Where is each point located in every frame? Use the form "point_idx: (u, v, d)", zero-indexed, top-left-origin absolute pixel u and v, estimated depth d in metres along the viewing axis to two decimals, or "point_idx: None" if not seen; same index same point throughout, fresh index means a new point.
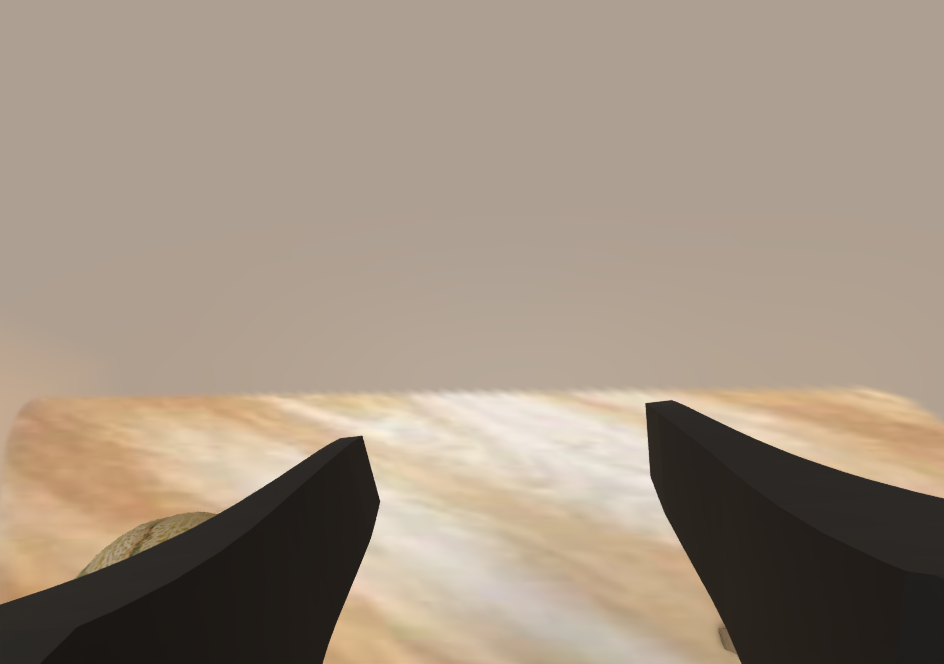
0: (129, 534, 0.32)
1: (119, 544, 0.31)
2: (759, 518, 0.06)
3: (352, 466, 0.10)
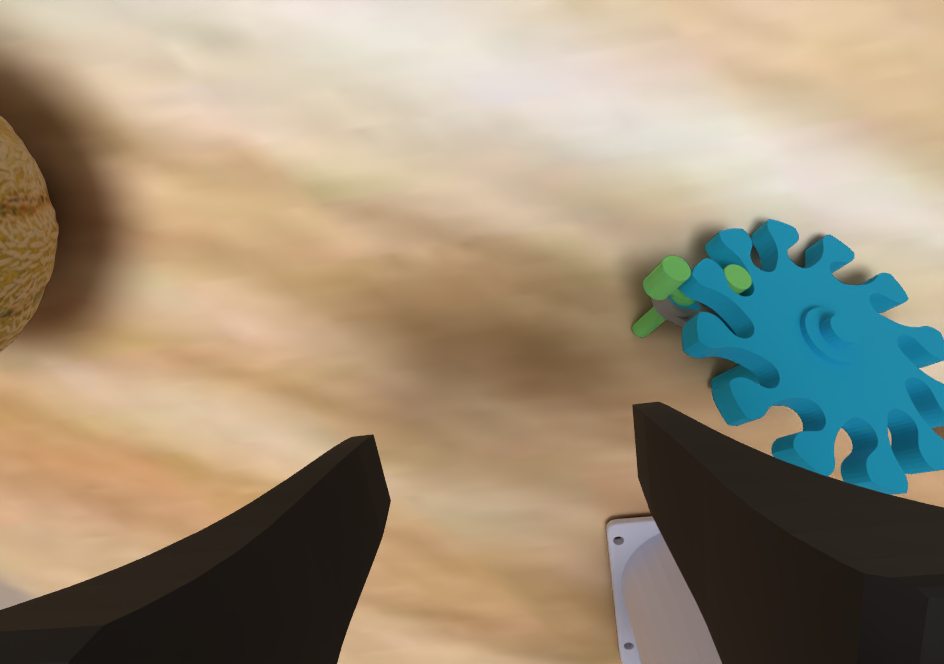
0: None
1: None
2: (735, 520, 0.06)
3: (364, 465, 0.10)
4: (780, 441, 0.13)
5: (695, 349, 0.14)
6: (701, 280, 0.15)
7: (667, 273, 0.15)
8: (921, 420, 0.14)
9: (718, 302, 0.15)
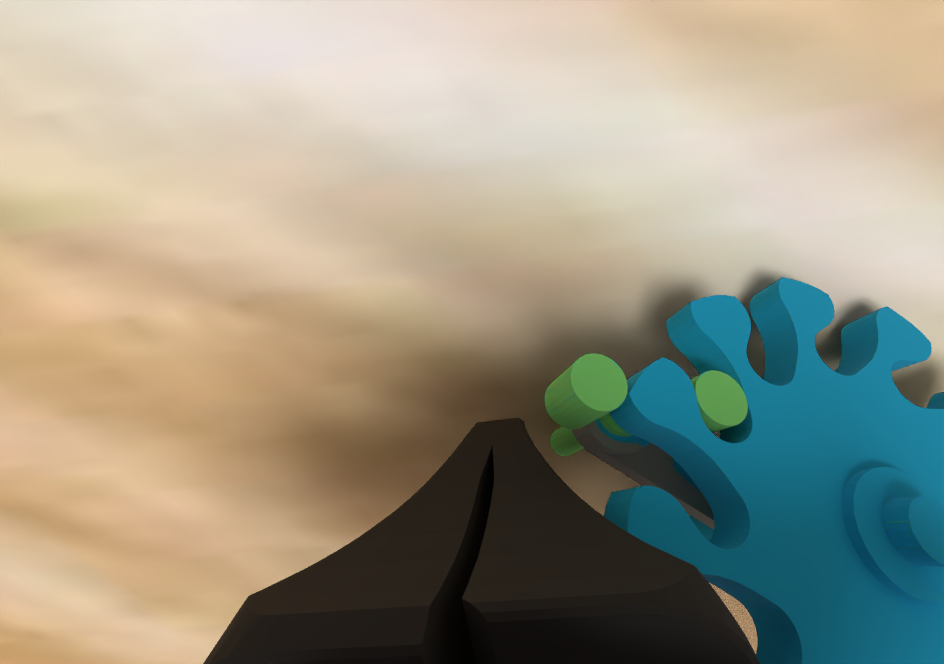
0: None
1: None
2: None
3: None
4: None
5: None
6: (648, 408, 0.07)
7: (577, 394, 0.07)
8: None
9: (681, 449, 0.08)
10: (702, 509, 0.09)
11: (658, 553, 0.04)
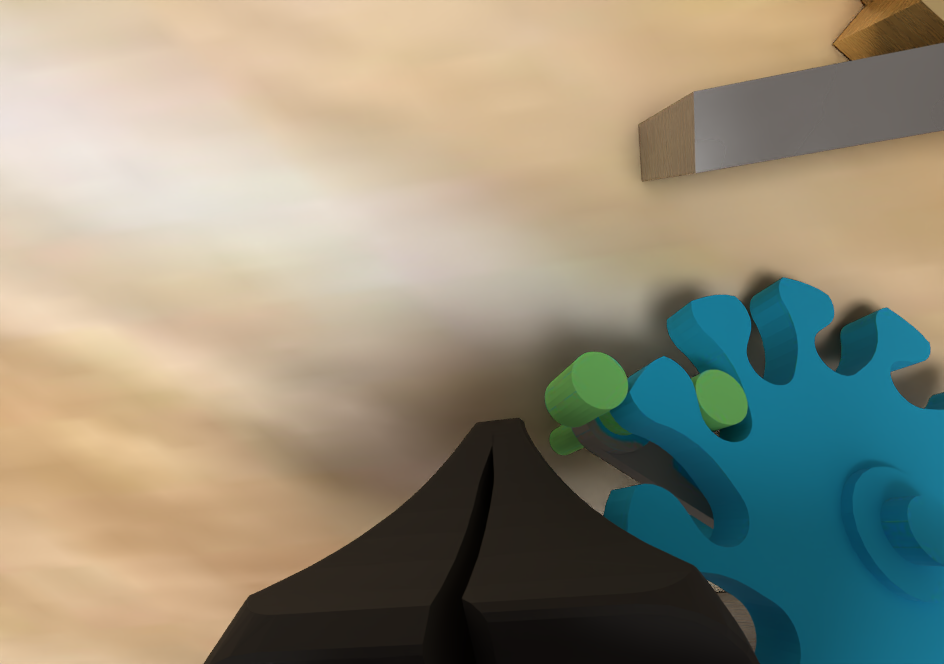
0: None
1: None
2: None
3: None
4: None
5: None
6: (648, 407, 0.07)
7: (577, 392, 0.07)
8: None
9: (681, 448, 0.08)
10: (702, 508, 0.09)
11: (657, 553, 0.04)
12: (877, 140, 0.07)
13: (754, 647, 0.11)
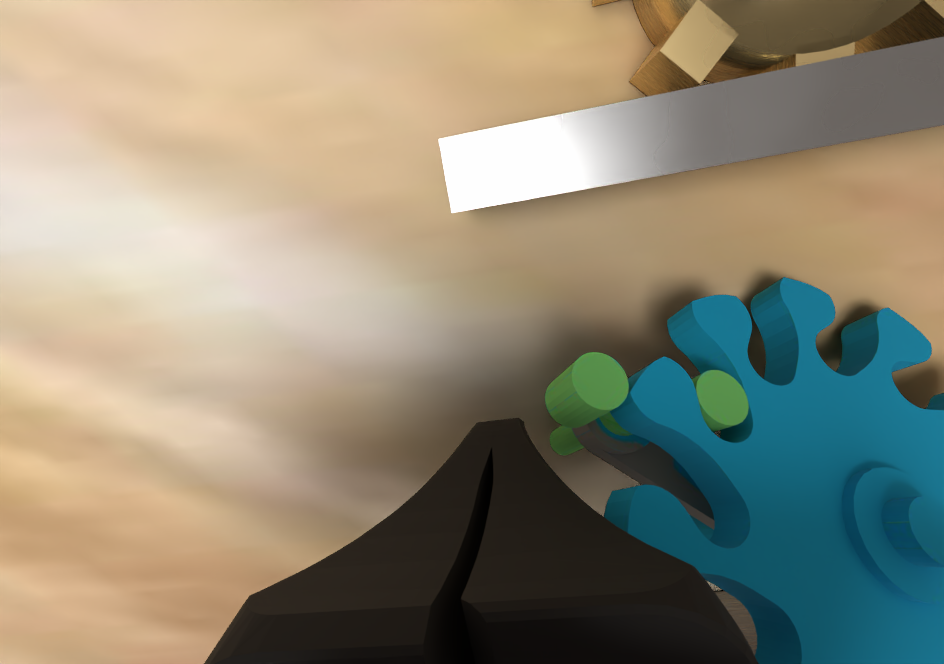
0: None
1: None
2: None
3: None
4: None
5: None
6: (649, 407, 0.07)
7: (577, 393, 0.07)
8: None
9: (681, 449, 0.08)
10: (702, 508, 0.09)
11: (656, 553, 0.04)
12: (609, 183, 0.07)
13: None
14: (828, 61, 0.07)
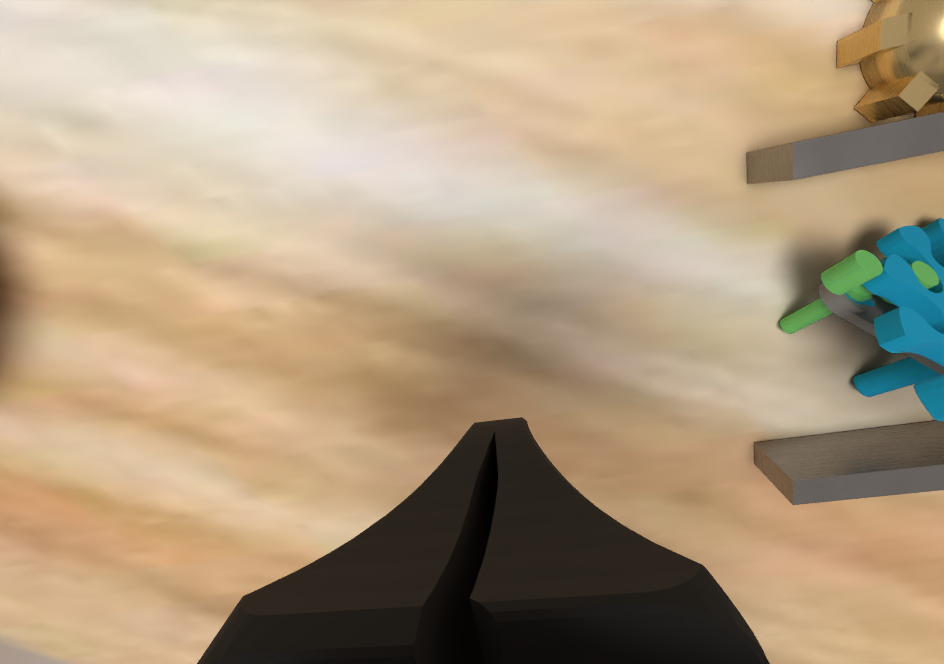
0: None
1: None
2: None
3: None
4: None
5: (897, 344, 0.14)
6: (894, 275, 0.15)
7: (861, 267, 0.15)
8: None
9: (906, 298, 0.15)
10: None
11: (665, 552, 0.04)
12: (879, 162, 0.14)
13: (815, 457, 0.19)
14: None
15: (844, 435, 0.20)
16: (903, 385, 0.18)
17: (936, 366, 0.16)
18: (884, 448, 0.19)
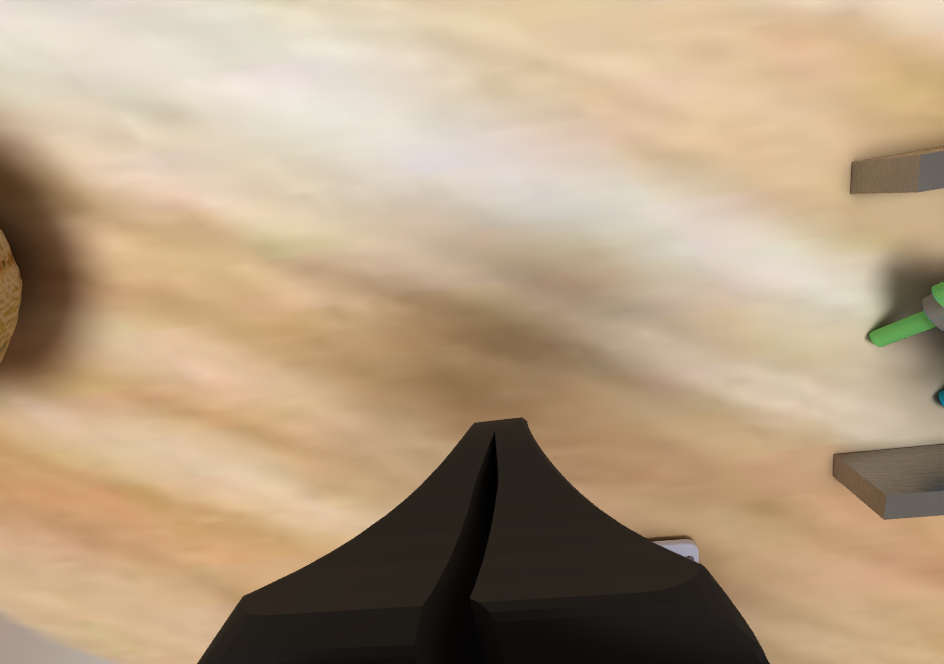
0: None
1: None
2: None
3: None
4: None
5: None
6: None
7: None
8: None
9: None
10: None
11: (665, 552, 0.04)
12: None
13: (903, 471, 0.19)
14: None
15: (928, 449, 0.20)
16: None
17: None
18: None
